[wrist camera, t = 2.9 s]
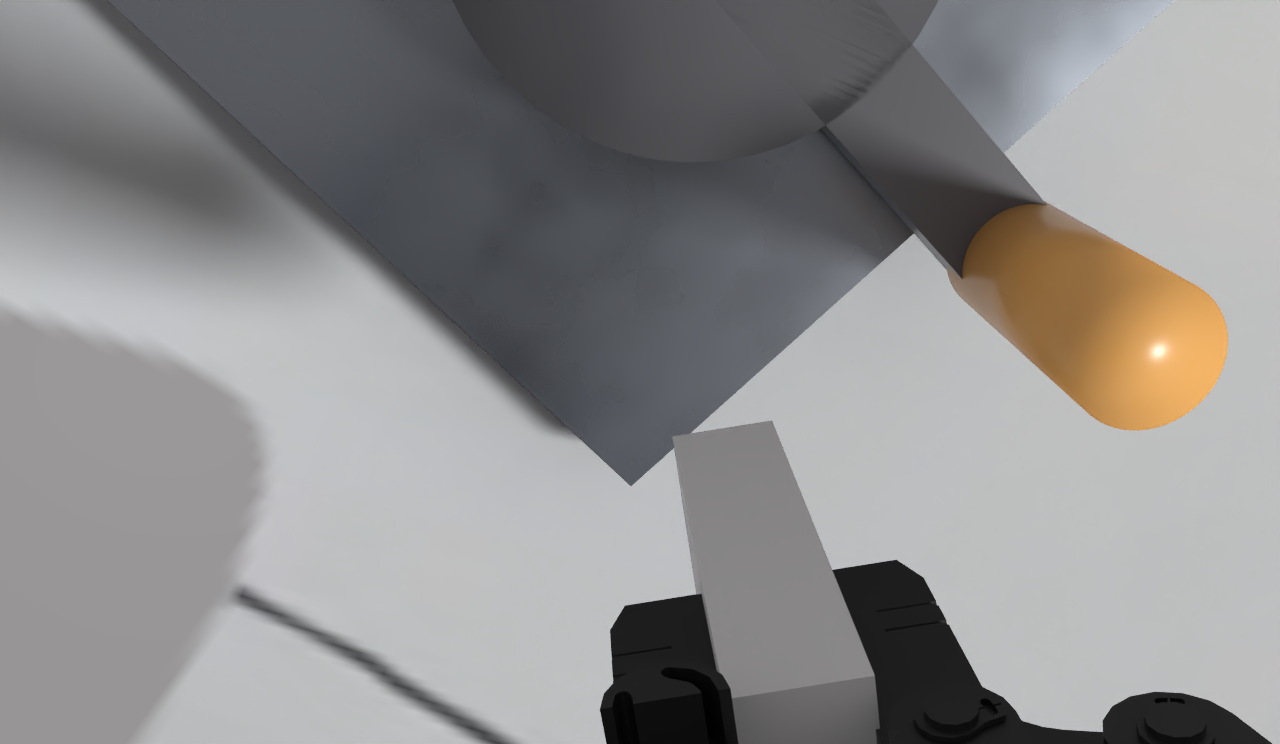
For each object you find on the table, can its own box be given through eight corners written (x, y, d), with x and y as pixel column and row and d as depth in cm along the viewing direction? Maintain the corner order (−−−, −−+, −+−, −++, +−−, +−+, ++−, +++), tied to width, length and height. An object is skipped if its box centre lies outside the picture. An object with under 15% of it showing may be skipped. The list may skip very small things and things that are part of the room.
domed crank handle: (328, -118, 22) (231, -138, 15) (703, -528, 20) (776, -751, 13) (858, 426, 26) (961, 596, 19) (1203, 128, 24) (1446, 202, 18)
